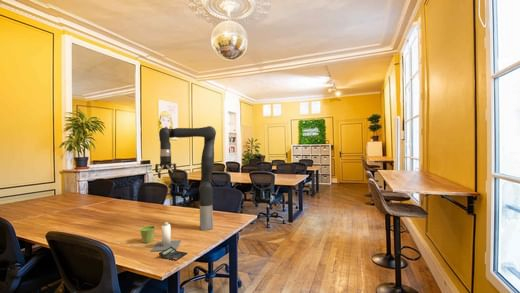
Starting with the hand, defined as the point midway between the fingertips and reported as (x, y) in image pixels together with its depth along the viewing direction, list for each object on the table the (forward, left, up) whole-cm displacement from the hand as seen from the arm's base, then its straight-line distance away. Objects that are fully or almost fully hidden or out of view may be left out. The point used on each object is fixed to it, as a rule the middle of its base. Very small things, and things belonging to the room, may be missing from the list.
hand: (166, 178), depth 174 cm
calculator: (-14, +43, -39) cm, 60 cm away
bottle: (-7, +29, -37) cm, 48 cm away
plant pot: (+7, +19, -38) cm, 43 cm away
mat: (-7, +29, -38) cm, 48 cm away
